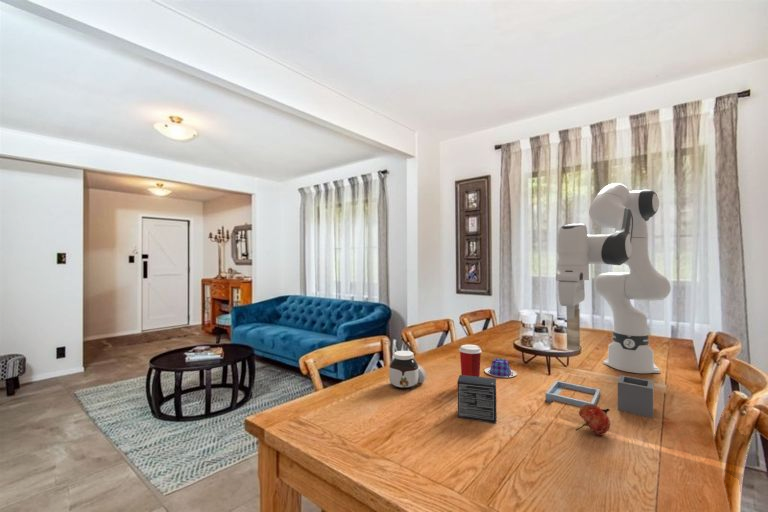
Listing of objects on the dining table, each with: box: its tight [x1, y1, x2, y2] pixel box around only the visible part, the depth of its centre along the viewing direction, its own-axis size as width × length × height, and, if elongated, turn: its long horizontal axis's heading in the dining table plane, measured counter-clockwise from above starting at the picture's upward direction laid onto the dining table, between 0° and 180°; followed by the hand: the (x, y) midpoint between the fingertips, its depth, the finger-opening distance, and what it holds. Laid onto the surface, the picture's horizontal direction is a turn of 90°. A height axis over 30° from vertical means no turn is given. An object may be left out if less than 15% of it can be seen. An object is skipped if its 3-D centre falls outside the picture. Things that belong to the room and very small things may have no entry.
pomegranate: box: [575, 404, 611, 436], centre depth 88 cm, size 7×7×10 cm
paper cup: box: [458, 344, 482, 377], centre depth 119 cm, size 8×8×14 cm
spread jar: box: [388, 350, 427, 391], centre depth 121 cm, size 12×11×12 cm
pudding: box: [484, 358, 518, 378], centre depth 133 cm, size 12×12×5 cm
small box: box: [456, 374, 498, 424], centre depth 97 cm, size 11×6×10 cm, turn 71°
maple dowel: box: [566, 307, 581, 352], centre depth 109 cm, size 4×4×13 cm
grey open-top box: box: [617, 374, 655, 419], centre depth 99 cm, size 8×8×9 cm
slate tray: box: [545, 380, 601, 408], centre depth 108 cm, size 14×13×2 cm
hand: (573, 317), depth 109 cm, fingers closed on maple dowel, 4 cm apart
